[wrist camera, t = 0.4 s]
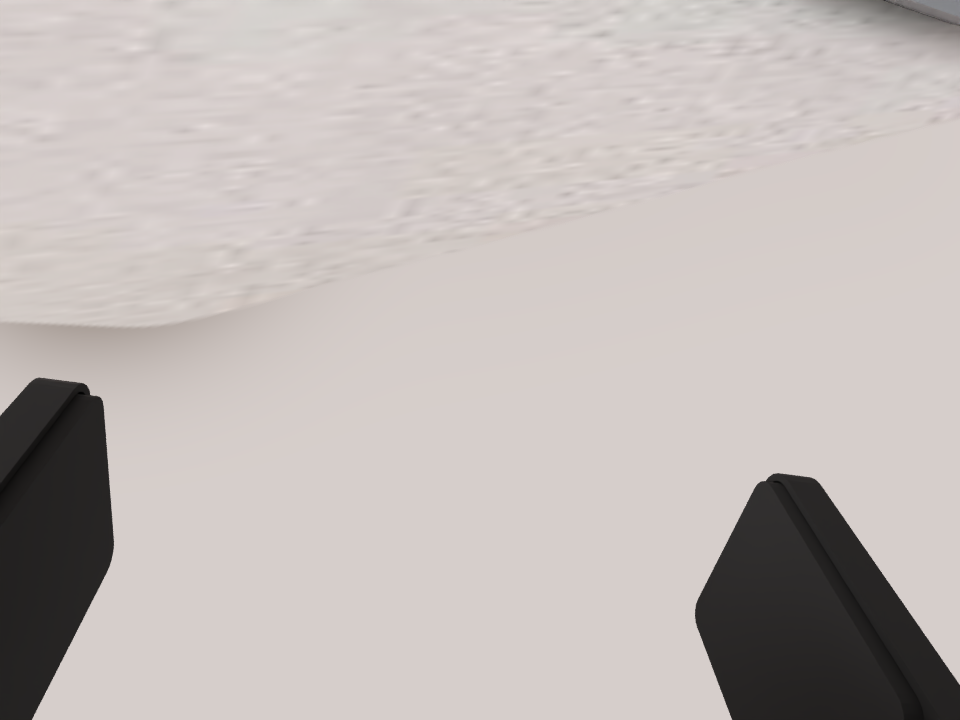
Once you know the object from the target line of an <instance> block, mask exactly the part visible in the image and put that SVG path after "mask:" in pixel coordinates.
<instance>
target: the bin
mask: <svg viewBox="0 0 960 720" xmlns="http://www.w3.org/2000/svg"><path fill="white" fill-rule="evenodd" d="M884 1H887V2H890V3H893V4H896V5H899V6H902V7H905V8H907V9H910V10H913V11H916V12H919V13H922V14H925V15H928V16H931V17H934V18H937V19H939V20H942V21H945V22H948V23H951V24H956V25H960V0H884Z"/></svg>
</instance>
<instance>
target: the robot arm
mask: <svg viewBox="0 0 960 720" xmlns="http://www.w3.org/2000/svg"><path fill="white" fill-rule="evenodd" d="M106 446H107V445H106V432H105V420H104V406H103V401H102V399H101V398H100V397H98V396H91V395H90V391H89V389H88V387H87V385H85V384H83V383H77V382H69V381H61V380H53V379H46V378H36V379H34V380H33V381H32V382H30V383H29V384H28V385H27V387H26V388H25V389H24V390H23V391H22V392H21V393H20V394H19V396H18V397H17V398H16V399H15V400H14V401H13V402H12V403H11V404H10V406H9V407H8V408H7V409H6V410H5V411H4V412H3V413H2V415H1V416H0V720H32V718H33V716H34V714H35V712H36V710H37V708H38V706H39V704H40V702H41V700H42V699H43V696H44V695H45V693H46V691H47V689H48V687H49V685H50V683H51V681H52V679H53V677H54V675H55V673H56V671H57V669H58V667H59V665H60V663H61V661H62V659H63V657H64V655H65V653H66V651H67V649H68V647H69V646H70V644H71V642H72V640H73V638H74V636H75V634H76V632H77V630H78V628H79V626H80V624H81V622H82V620H83V618H84V616H85V614H86V612H87V610H88V608H89V606H90V604H91V602H92V600H93V598H94V596H95V594H96V593H97V590H98V588H99V587H100V585H101V583H102V581H103V579H104V577H105V575H106V573H107V571H108V568H109V566H110V563H111V560H112V555H113V549H114V539H113V524H112V511H111V498H110V485H109V472H108V459H107V447H106ZM695 619H696V624H697V628H698V630H699V633H700V636H701V638H702V641H703V644H704V646H705V649H706V651H707V654H708V656H709V660H710V662H711V665H712V668H713V670H714V673H715V675H716V678H717V681H718V683H719V686H720V689H721V691H722V694H723V697H724V699H725V702H726V705H727V707H728V710H729V713H730V715H731V718H732V720H960V685H959V683H958V682H957V680H956V679H955V678H954V676H953V675H952V673H951V672H950V671H949V669H948V667H947V666H946V665H945V663H944V662H943V660H942V659H941V657H940V656H939V655H938V653H937V652H936V650H935V649H934V647H933V646H932V644H931V643H930V642H929V640H928V639H927V637H926V636H925V634H924V633H923V632H922V630H921V629H920V627H919V626H918V624H917V623H916V621H915V620H914V619H913V617H912V616H911V614H910V613H909V611H908V610H907V608H906V607H905V606H904V604H903V603H902V601H901V600H900V599H899V597H898V596H897V594H896V593H895V591H894V590H893V588H892V587H891V586H890V584H889V583H888V581H887V580H886V578H885V577H884V575H883V574H882V572H881V571H880V570H879V568H878V567H877V565H876V564H875V562H874V561H873V560H872V558H871V557H870V555H869V554H868V552H867V551H866V549H865V548H864V547H863V545H862V544H861V542H860V541H859V539H858V538H857V537H856V535H855V534H854V532H853V531H852V529H851V528H850V526H849V525H848V524H847V522H846V521H845V519H844V518H843V516H842V515H841V514H840V512H839V511H838V509H837V508H836V506H835V505H834V503H833V502H832V501H831V499H830V498H829V496H828V495H827V493H826V492H825V490H824V489H823V488H822V486H821V485H820V484H819V483H818V482H817V481H816V480H815V479H813V478H810V477H803V476H795V475H787V474H779V473H777V474H773V475H771V476H770V477H768V479H767V480H766V481H763V482H760V483H758V484H757V486H756V487H755V489H754V491H753V493H752V495H751V496H750V498H749V500H748V502H747V504H746V506H745V508H744V510H743V512H742V514H741V516H740V518H739V520H738V522H737V524H736V526H735V528H734V530H733V532H732V534H731V536H730V538H729V540H728V542H727V544H726V546H725V547H724V550H723V551H722V553H721V555H720V557H719V559H718V561H717V563H716V565H715V567H714V569H713V571H712V573H711V575H710V577H709V579H708V581H707V583H706V585H705V587H704V589H703V591H702V593H701V595H700V597H699V598H698V601H697V603H696V609H695Z"/></svg>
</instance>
